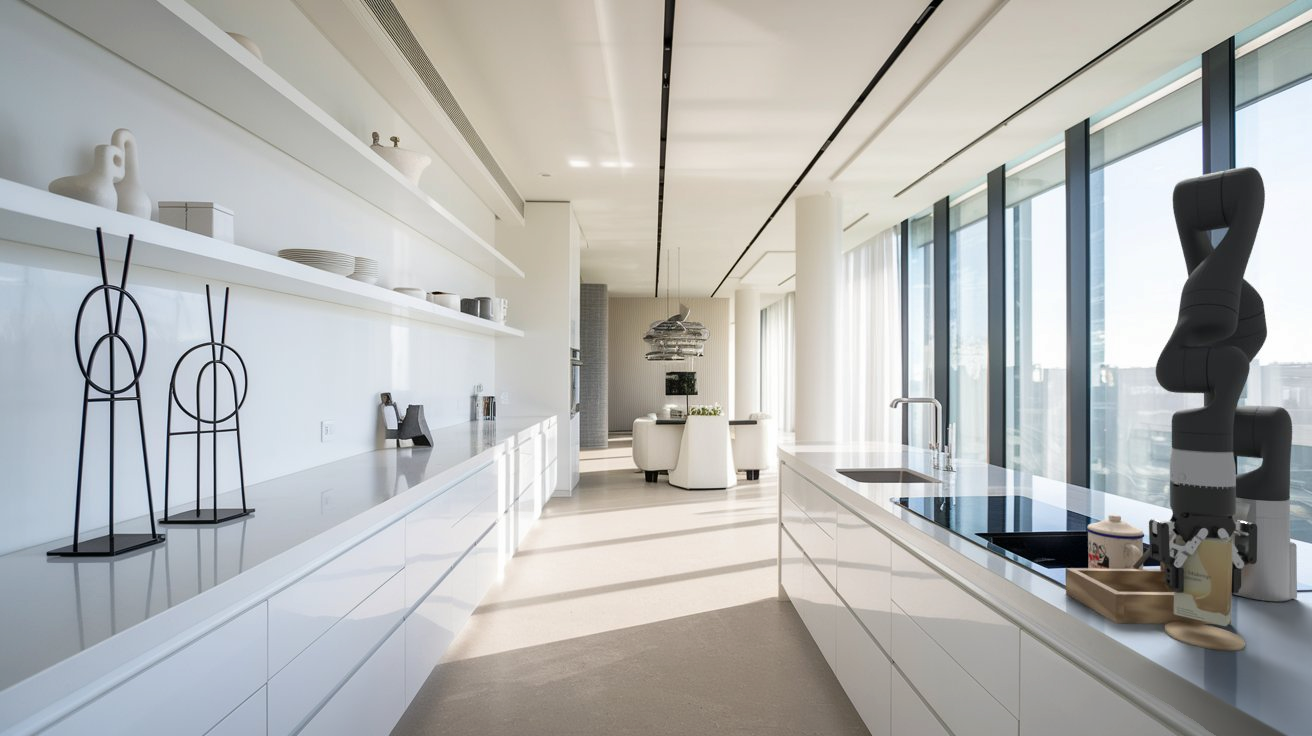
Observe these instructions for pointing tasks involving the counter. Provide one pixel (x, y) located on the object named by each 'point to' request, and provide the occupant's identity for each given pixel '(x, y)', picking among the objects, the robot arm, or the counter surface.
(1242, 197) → the robot arm
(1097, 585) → the cold frame
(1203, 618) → the skincare box
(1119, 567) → the teacup with lid
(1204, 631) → the cork mat
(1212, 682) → the counter surface
